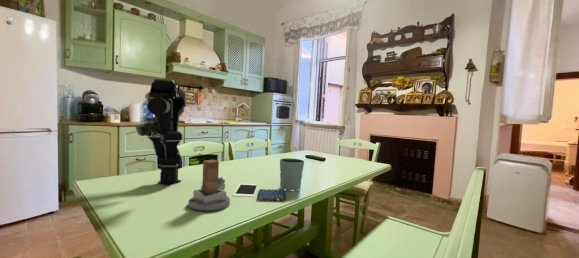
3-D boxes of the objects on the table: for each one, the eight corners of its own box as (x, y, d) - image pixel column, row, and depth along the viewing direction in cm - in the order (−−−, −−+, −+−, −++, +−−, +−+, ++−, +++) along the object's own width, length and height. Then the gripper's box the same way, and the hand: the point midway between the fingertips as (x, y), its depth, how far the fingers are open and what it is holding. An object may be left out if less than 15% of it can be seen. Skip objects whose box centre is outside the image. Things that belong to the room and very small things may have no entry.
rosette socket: (181, 203, 84) (181, 189, 84) (216, 195, 94) (217, 183, 94) (200, 215, 75) (200, 200, 75) (237, 205, 85) (237, 192, 85)
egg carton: (225, 191, 101) (225, 180, 101) (205, 191, 99) (205, 181, 98) (223, 183, 111) (224, 174, 111) (205, 183, 109) (206, 174, 109)
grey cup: (273, 188, 107) (275, 159, 106) (287, 183, 115) (289, 157, 115) (293, 193, 101) (295, 163, 101) (307, 188, 110) (308, 160, 109)
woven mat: (258, 193, 101) (258, 188, 101) (284, 194, 101) (285, 189, 101) (255, 202, 90) (256, 196, 90) (285, 203, 91) (286, 197, 91)
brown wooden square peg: (201, 199, 84) (203, 160, 84) (211, 197, 87) (213, 159, 86) (207, 202, 82) (208, 162, 81) (217, 200, 85) (218, 161, 84)
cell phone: (232, 196, 95) (232, 195, 94) (240, 185, 111) (240, 183, 111) (253, 197, 95) (253, 196, 95) (258, 185, 111) (258, 184, 111)
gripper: (130, 113, 92) (129, 155, 93) (148, 115, 80) (147, 164, 80) (162, 114, 100) (161, 153, 101) (183, 116, 88) (182, 161, 89)
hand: (162, 157), depth 93 cm, fingers open, 9 cm apart
